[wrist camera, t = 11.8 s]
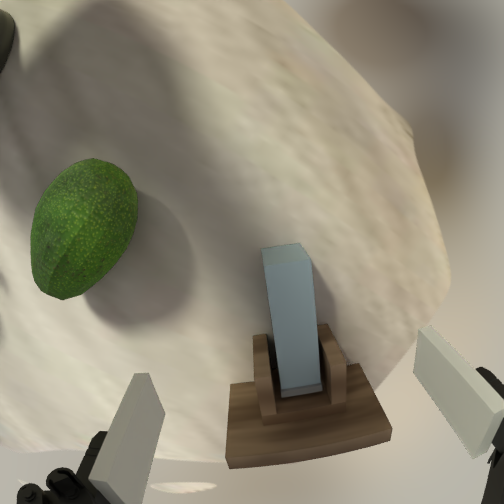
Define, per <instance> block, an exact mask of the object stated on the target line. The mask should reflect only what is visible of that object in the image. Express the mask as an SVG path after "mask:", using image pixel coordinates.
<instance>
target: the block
mask: <svg viewBox="0 0 504 504" xmlns="http://www.w3.org/2000/svg"><path fill="white" fill-rule="evenodd" d="M261 252H262V259H263V266H264V272H265V279H266V286H267V293H268V300H269V306H270V313H271V320H272V327H273V334H274V341H275V348H276V355H277V358H276V361H277V368H278V375H279V382H280V389H281V396H282V398H283V397H290V396H296V395H302V394H308V393H313V392H319V391H322V383H321V380H320V364H319V348H318V333H317V320H316V308H315V296H314V285H313V274H312V264H311V258H310V257H309V255H308V254H307V253H306V251H305V250H304V248H303V247H302V245H301V244H300V243H297V244H290V245H283V246H277V247H270V248H263V249H261Z"/></svg>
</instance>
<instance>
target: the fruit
mask: <svg viewBox="0 0 504 504" xmlns="http://www.w3.org/2000/svg"><path fill="white" fill-rule="evenodd" d="M137 212H138V200H137V193H136V191H135V188H134V186H133V184H132V182H131V180H130V178H129V176H128V175H127V174H126V173H125V172H124V171H123V170H122V169H120V168H118V167H117V166H115V165H114V164H111V163H108V162H105V161H101V160H98V159H94V158H92V159H87V160H83V161H80V162H78V163H75V164H73V165H72V166H70V167H69V168H67V169H66V170H64V171H63V172H61V173H60V174H59V175H58V177H57V178H56V179H55V180H54V181H53V182H52V183H51V184H50V185H49V187H48V188H47V189H46V191H45V192H44V194H43V196H42V198H41V199H40V201H39V203H38V205H37V207H36V209H35V214H34V219H33V224H32V230H31V266H32V274H33V278H34V281H35V283H36V284H37V286H38V287H39V288H40V290H41V291H42V292H44V293H46V294H47V295H50V296H52V297H55V298H58V299H60V300H65V299H68V298H72V297H75V296H79V295H81V294H83V293H84V292H85V291H87V290H88V289H89V288H90V287H92V286H93V285H94V284H95V283H96V282H98V281H99V280H100V279H101V278H102V277H103V276H104V275H105V274H106V273H107V272H108V271H109V270H110V269H111V268H112V267H113V266H114V265H115V264H116V262H117V261H118V260H119V258H120V257H121V255H122V254H123V253H124V251H125V250H126V249H127V246H128V244H129V242H130V240H131V237H132V235H133V233H134V229H135V225H136V222H137Z"/></svg>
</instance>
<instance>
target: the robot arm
mask: <svg viewBox="0 0 504 504" xmlns="http://www.w3.org/2000/svg"><path fill="white" fill-rule="evenodd" d="M13 37H14V22H13V18H12V17H11V15H10V14H9V13H7V12H5V11H3V10H1V9H0V72H1V70H2V68H3V66H4V64H5V62H6V60H7V57H8V55H9V52H10V49H11V46H12V42H13ZM413 373H414V374H415V376H416V377H417V379H418V380H419V381H420V382H421V384H422V386H423V387H424V388H425V390H426V391H427V392H428V394H429V395H430V396H431V398H432V400H433V401H434V402H435V404H436V405H437V407H438V408H439V410H440V411H441V412H442V414H443V415H444V417H445V418H446V420H447V421H448V423H449V424H450V426H451V427H452V428H453V430H454V431H455V433H456V434H457V436H458V437H459V439H460V440H461V442H462V443H463V445H464V446H465V448H466V449H467V451H468V452H469V454H470V455H471V457H472V459H474V458H476V457H478V456H480V455H482V454H484V453H486V452H487V451H488V449H489V447H490V445H491V443H492V444H493V445H494V446H495V449H494V451H493V453H492V455H491V456H490V458H489V460H488V462H487V463H490V461H491V460H492V461H491V467H490V471H489V475H488V479H487V484H486V488H485V491H484V496H483V499H482V502H481V504H504V385H503V384H502V382H500V380H499V379H497V378H496V376H495V375H494V374H493V373H492V372H491V371H489V370H487V369H485V368H483V367H479V368H476V369H474V368H473V367H472V366H471V365H470V363H469V362H468V361H467V360H466V359H465V358H464V357H463V356H462V355H461V354H460V353H459V352H458V351H457V350H456V349H455V348H454V347H453V346H452V345H451V344H450V343H449V342H447V340H446V339H445V338H444V337H443V336H442V335H441V334H440V333H439V332H437V330H435V329H434V328H433V327H432V326H431V325H430V326H427V327H423V328H420V329H418V339H417V348H416V356H415V363H414V370H413ZM164 417H165V411H164V409H163V407H162V404H161V402H160V400H159V397H158V395H157V393H156V390H155V388H154V385H153V383H152V380H151V378H150V375H149V373H136V374H134V376H133V378H132V380H131V382H130V384H129V386H128V388H127V391H126V393H125V395H124V397H123V399H122V402H121V404H120V406H119V408H118V410H117V413H116V415H115V417H114V419H113V422H112V424H111V426H110V428H109V431H99V432H98V433H97V434H96V435H95V436H94V437H93V438H92V440H91V442H90V444H89V447H88V449H87V451H86V453H85V456H84V458H83V460H82V462H81V464H80V467H79V469H78V471H77V473H76V475H75V474H74V473H73V471H72V470H70V469H68V468H63V467H62V468H57V469H55V470H53V471H52V472H51V473H50V474H49V475H48V476H47V479H46V486H47V487H48V488H49V489H50V491H43V490H42V489H41V488H40V487H39V486H38V485H36V484H32V483H29V484H26V485H24V486H22V487H21V488H20V490H19V491H18V494H17V504H142V501H143V497H144V492H145V489H146V485H147V481H148V477H149V473H150V469H151V465H152V461H153V457H154V454H155V450H156V446H157V442H158V439H159V435H160V431H161V428H162V424H163V420H164Z"/></svg>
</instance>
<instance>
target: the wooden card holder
mask: <svg viewBox="0 0 504 504" xmlns="http://www.w3.org/2000/svg"><path fill="white" fill-rule="evenodd" d="M317 333H318V348H319V364H320V380H321V383H322V391H319V392H313V393H308V394H302V395H296V396H290V397H283V398H282V396H281V389H280V382H279V375H278V369H272V368H271V361H270V355H269V349H268V342H267V336H266V334H262V335H255V336H253V358H254V380H255V381H254V382H246V383H237V384H230V398H229V411H228V425H227V440H226V454H225V458H226V461H227V464H228V466H229V469H238V468H250V467H261V466H269V465H279V464H286V463H293V462H299V461H306V460H311V459H316V458H322V457H327V456H332V455H337V454H341V453H346V452H350V451H354V450H358V449H362V448H366V447H370V446H374V445H377V444H381V443H384V442H388V441H390V438H391V433H392V427H391V424H390V422H389V420H388V418H387V417H386V414H385V412H384V411H383V409H382V407H381V405H380V403H379V401H378V399H377V397H376V395H375V393H374V391H373V389H372V387H371V385H370V383H369V381H368V380H367V378H366V376H365V374H364V372H363V370H362V368H361V366H360V364H359V363H358V364H353V365H348V366H346V361H345V359H344V357H343V354H342V352H341V350H340V348H339V346H338V344H337V342H336V340H335V338H334V336H333V334H332V332H331V330H330V328H329V326H328V324H324V325H318V326H317Z"/></svg>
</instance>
